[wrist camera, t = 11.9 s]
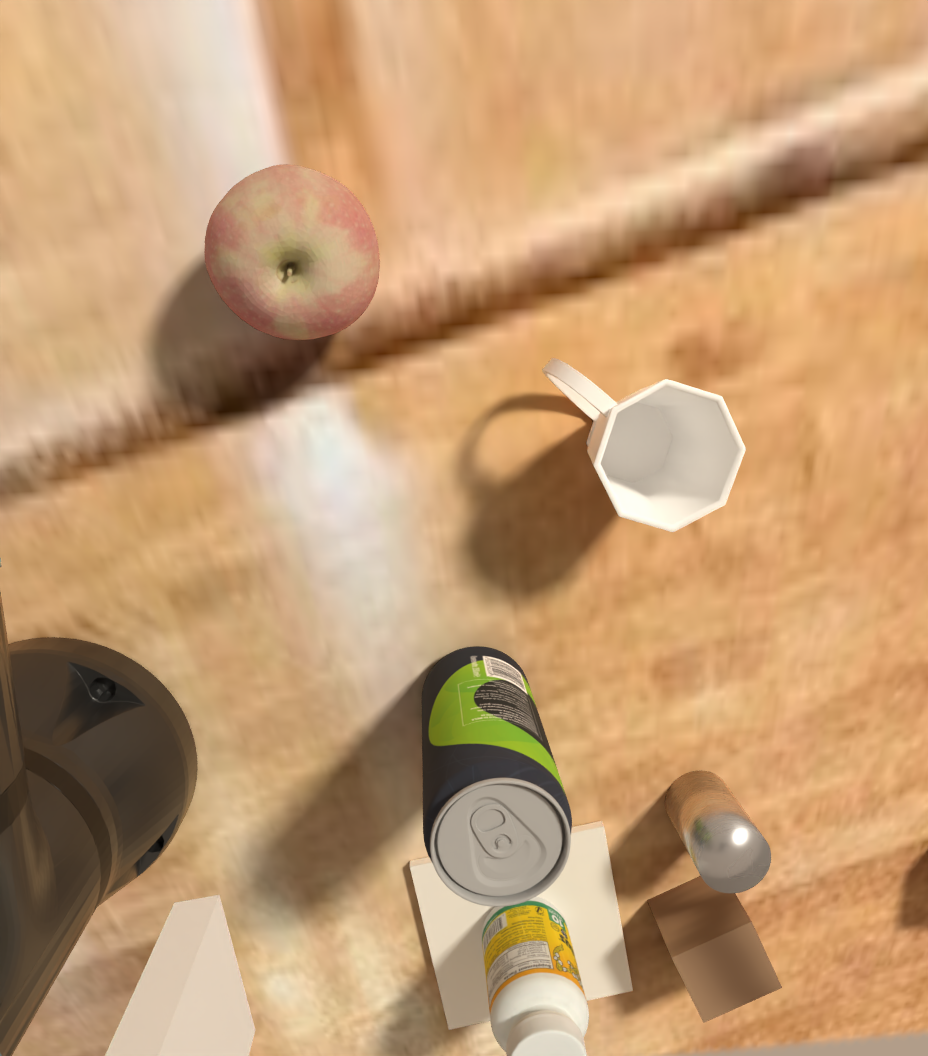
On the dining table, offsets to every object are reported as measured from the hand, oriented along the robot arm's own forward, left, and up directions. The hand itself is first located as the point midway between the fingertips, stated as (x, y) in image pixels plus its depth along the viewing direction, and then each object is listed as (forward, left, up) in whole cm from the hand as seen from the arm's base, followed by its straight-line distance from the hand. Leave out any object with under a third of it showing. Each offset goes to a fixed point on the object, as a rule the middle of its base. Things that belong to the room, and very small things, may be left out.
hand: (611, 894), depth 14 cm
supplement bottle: (-2, -26, -31) cm, 41 cm away
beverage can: (-2, -10, -32) cm, 34 cm away
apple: (-6, +15, -32) cm, 36 cm away
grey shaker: (+10, -20, -32) cm, 39 cm away
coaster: (-2, -26, -32) cm, 41 cm away
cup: (+8, +4, -32) cm, 33 cm away
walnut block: (+9, -28, -32) cm, 43 cm away
